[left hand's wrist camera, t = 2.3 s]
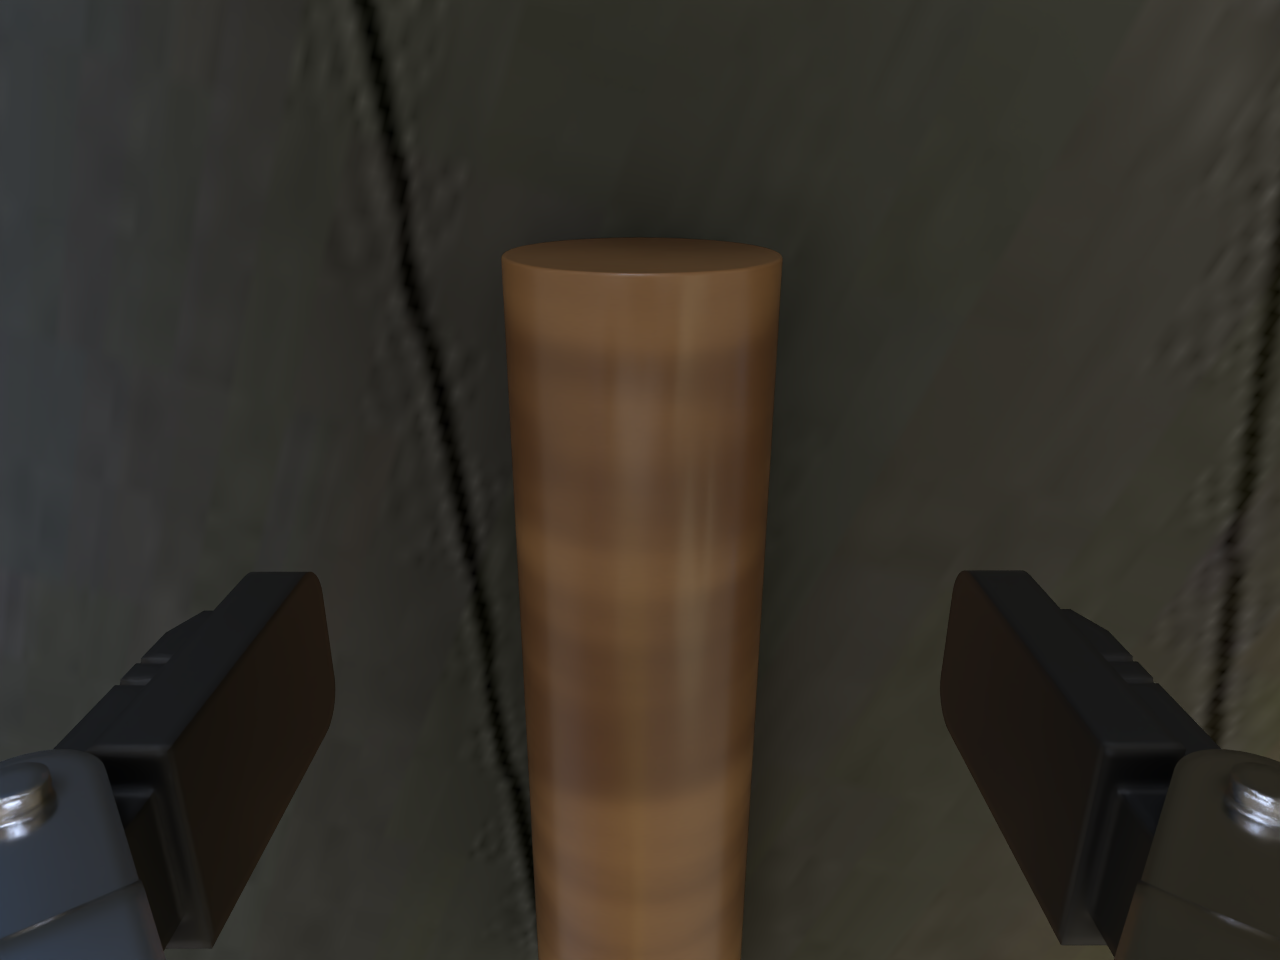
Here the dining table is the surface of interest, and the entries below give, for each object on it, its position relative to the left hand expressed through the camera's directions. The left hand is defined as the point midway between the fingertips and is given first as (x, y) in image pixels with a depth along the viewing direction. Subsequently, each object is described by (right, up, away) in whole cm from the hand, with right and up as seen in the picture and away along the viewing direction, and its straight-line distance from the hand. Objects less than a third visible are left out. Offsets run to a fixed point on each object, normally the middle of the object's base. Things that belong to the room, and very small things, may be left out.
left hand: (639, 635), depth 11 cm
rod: (0, -4, +15) cm, 16 cm away
